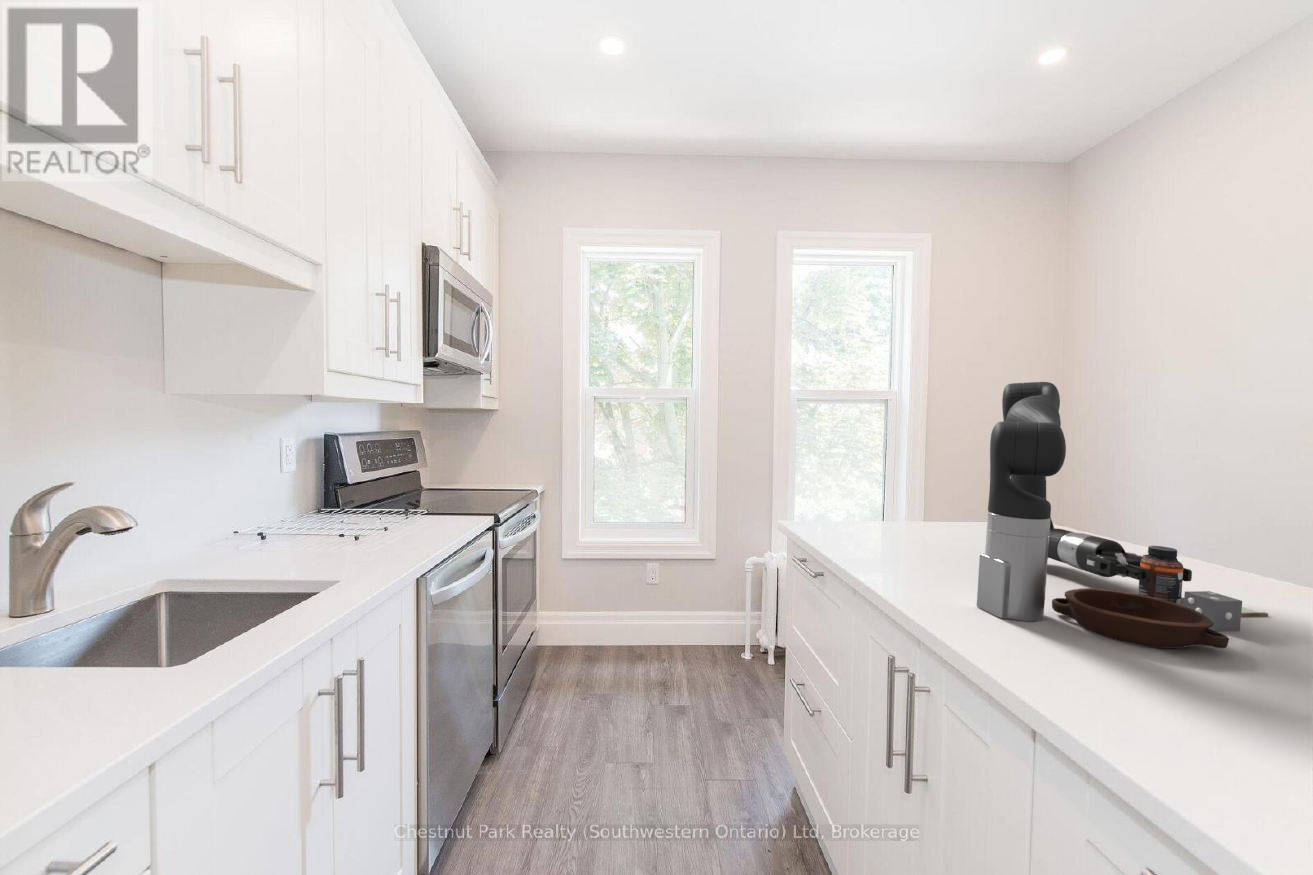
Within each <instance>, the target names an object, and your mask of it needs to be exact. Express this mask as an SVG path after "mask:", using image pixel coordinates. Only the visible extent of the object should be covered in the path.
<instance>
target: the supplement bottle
mask: <svg viewBox="0 0 1313 875" xmlns="http://www.w3.org/2000/svg"><path fill="white" fill-rule="evenodd" d="M1147 549H1148V550H1147V553H1148V554H1146V555H1147V556H1145V557H1143V558H1142V559H1141V562H1140V567H1141V568H1145V569H1148V570H1150V572H1151V576H1150V581H1149V582H1143V581H1140V580H1138V589H1137V590H1138V592H1137V594H1138V595H1144V596H1149V597H1154V598H1158V599H1163V600H1167V601H1170V602H1173V603H1177V604H1180V605H1181V598H1182V593H1183V592H1182V591H1183V582H1184V581H1183V568H1184V565H1183V563H1182V562H1181V561H1179V560H1178V549H1176V548H1174V547H1167V546H1160V545H1149V546H1148V548H1147Z"/></svg>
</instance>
